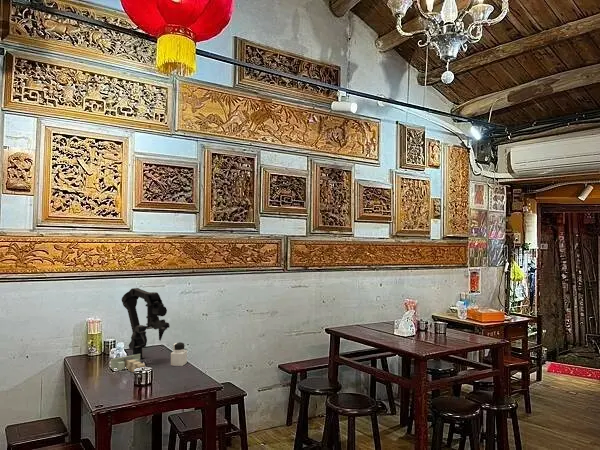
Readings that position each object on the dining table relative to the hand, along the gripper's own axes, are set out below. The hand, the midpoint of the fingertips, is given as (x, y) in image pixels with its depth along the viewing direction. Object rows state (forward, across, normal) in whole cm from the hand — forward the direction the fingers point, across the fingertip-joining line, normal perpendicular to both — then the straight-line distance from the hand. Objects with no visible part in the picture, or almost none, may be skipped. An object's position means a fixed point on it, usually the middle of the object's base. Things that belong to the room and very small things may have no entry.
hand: (152, 341), depth 278 cm
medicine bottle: (+12, +9, -14) cm, 21 cm away
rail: (+12, -15, -9) cm, 21 cm away
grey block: (+12, -15, 0) cm, 19 cm away
